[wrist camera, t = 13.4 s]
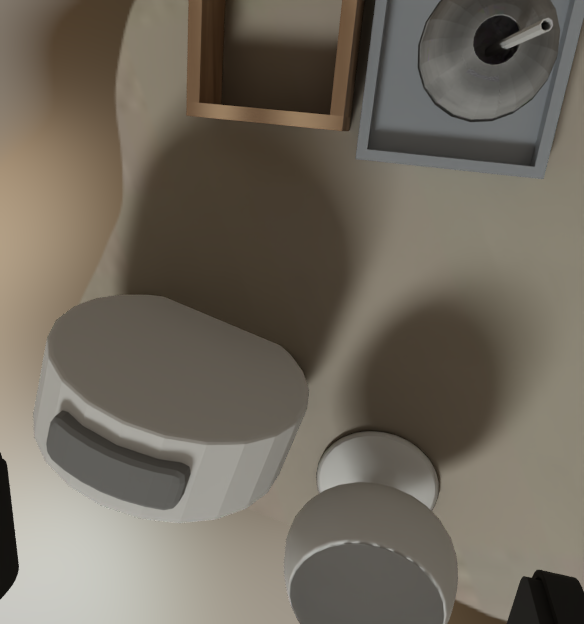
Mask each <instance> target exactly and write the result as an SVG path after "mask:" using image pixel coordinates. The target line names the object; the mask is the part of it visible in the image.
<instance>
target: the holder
mask: <svg viewBox="0 0 584 624" xmlns="http://www.w3.org/2000/svg"><path fill="white" fill-rule="evenodd" d="M364 4H365V0H342V8H341V17H340V27H339V36H338V45H337V54H336V64H335V73H334V82H333V91H332V101H331V110H330V115H324V114H314V113H303V112H293V111H282V110H271V109H261V108H250V107H239V106H229V105H221V95H222V71H223V46H224V21H225V0H189V10H188V61H187V112H186V116H196V117H206V118H216V119H226V120H236V121H246V122H257V123H267V124H277V125H287V126H297V127H307V128H317V129H327V130H338V131H349V128H350V120H351V111H352V103H353V95H354V87H355V78H356V70H357V62H358V54H359V45H360V37H361V29H362V21H363V12H364Z"/></svg>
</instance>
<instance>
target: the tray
mask: <svg viewBox="0 0 584 624" xmlns="http://www.w3.org/2000/svg"><path fill="white" fill-rule="evenodd" d="M439 1H441V0H376V2H375V9H374V17H373V25H372V33H371V41H370V49H369V57H368V65H367V72H366V80H365V88H364V96H363V104H362V112H361V120H360V127H359V135H358V143H357V151H356V159H361V160H370V161H379V162H389V163H398V164H407V165H417V166H426V167H435V168H445V169H454V170H463V171H473V172H482V173H491V174H501V175H510V176H519V177H529V178H538V179H544V175H545V171H546V167H547V163H548V159H549V155H550V151H551V147H552V143H553V139H554V135H555V131H556V127H557V123H558V119H559V115H560V110H561V106H562V102H563V98H564V94H565V90H566V86H567V82H568V78H569V74H570V70H571V66H572V62H573V58H574V54H575V50H576V46H577V42H578V38H579V34H580V30H581V26H582V22H583V18H584V0H551V2H552V4H553V5H554V7H555V8H556V12H557V17H558V22H559V27H560V38H559V47H558V55H557V59H556V61H555V63H554V66H553V68H552V71H551V73H550V75H549V78H548V80H547V82H546V83H545V84H544V85H543V87H542V88H541V89H540V90H539V92H538V93H537V94H536V95H535V97H534V98H533V99H532V100H531V101H530V102H528V103H527V104H526V105H524V106H523V107H521V108H520V109H519V110H517V111H516V112H515V113H513V114H511V115H508V116H505V117H502V118H500V119H497V120H494V121H487V122H468V121H465V120H461V119H458V118H454V117H451V116H450V115H448V114H447V113H445V112H444V111H443V110H441V109H440V108H438V107H437V106H436V105H435V104H434V103H433V102H432V100H431V99H430V97H429V96H428V94H427V93H426V91H425V90H424V88H423V85H422V82H421V78H420V75H419V71H418V44H419V41H420V38H421V35H422V32H423V29H424V25H425V22H426V21H427V19H428V18H429V16H430V15H431V13H432V12H433V10H434V9H435V7H436V6H437V4H438V3H439Z"/></svg>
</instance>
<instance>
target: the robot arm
mask: <svg viewBox="0 0 584 624" xmlns="http://www.w3.org/2000/svg"><path fill="white" fill-rule="evenodd" d="M16 547H17V546H16V538H15V529H14V521H13V512H12V504H11V495H10V487H9V478H8V470H7V464H6V461H5V460H4V459H2V456H1V453H0V599H1V598H2V597H3V596H4V595H5V594H6V592H7V591H8V590H9V589H10V587H11V586H12V585H13V583H14V581H15V579H16V577H17V574H18V570H19V564H18V555H17V548H16ZM507 624H584V592H583V589H582V587H581V585H580V583H579V581H578V580H577V579H576V578H574V577H569V576H565V575H560V574H556V573H551V572H547V571H542V570H536V572H535V573H534V575H533V577H532V578H530V577H525V576H523V577H522V579H521V581H520V584H519V587H518V590H517V593H516V596H515V599H514V603H513V606H512V609H511V612H510V615H509V618H508V621H507Z"/></svg>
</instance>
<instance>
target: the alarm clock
mask: <svg viewBox="0 0 584 624" xmlns="http://www.w3.org/2000/svg"><path fill="white" fill-rule="evenodd" d="M308 396H309V388H308V385H307V382H306V379H305V376H304V373H303V371H302V370H301V368H300V367H299V365H298V364H297V363H296V361H295V360H294V358H293V357H292V356H291V354H289V353H288V352H287V351H286V350H285V349H284V348H283V347H282V346H280V345H278V344H276V343H273V342H271V341H269V340H266V339H264V338H261V337H259V336H257V335H254V334H252V333H249V332H247V331H245V330H242V329H240V328H238V327H235V326H233V325H230V324H228V323H226V322H223V321H221V320H219V319H216V318H214V317H211V316H209V315H207V314H204V313H202V312H199V311H197V310H195V309H192V308H190V307H188V306H185V305H183V304H180V303H178V302H176V301H173V300H171V299H169V298H166V297H163V296H155V295H115V296H109V297H102V298H96V299H93V300H90V301H87V302H85V303H82V304H79V305H77V306H74V307H73V308H71V309H70V310H69V311H67V312H66V313H65V314H63V315H62V316H61V317H60V318H58V319H57V320H56V322H55V323H54V326H53V327H52V329H51V331H50V333H49V335H48V337H47V342H46V347H45V353H44V358H43V363H42V369H41V375H40V380H39V385H38V391H37V396H36V402H35V407H34V413H33V418H34V438H35V440H36V442H37V444H38V447H39V449H40V451H41V453H42V455H43V457H44V459H45V461H46V463H47V464H48V465H49V466H50V467H51V468H52V469H53V470H54V471H55V472H56V473H57V474H58V475H59V476H60V477H61V478H62V479H63V481H65V483H66V484H67V485H68V486H70V487H71V488H73V489H74V490H76V491H78V492H79V493H81V494H83V495H84V496H86V497H88V498H89V499H91V500H93V501H95V502H96V503H98V504H100V505H101V506H104V507H107V508H110V509H113V510H116V511H119V512H122V513H125V514H128V515H131V516H134V517H137V518H140V519H149V520H158V521H166V522H175V523H185V522H194V521H205V520H215V519H218V518H221V517H224V516H227V515H229V514H232V513H235V512H238V511H241V510H243V509H246V508H247V507H249V506H250V505H251V504H253V503H254V502H255V501H257V500H258V499H259V498H261V497H262V496H263V495H265V494H266V493H267V492H268V491H269V489H270V488H271V486H272V484H273V483H274V481H275V480H276V478H277V476H278V475H279V473H280V471H281V468H282V466H283V464H284V461H285V459H286V457H287V454H288V452H289V450H290V447H291V445H292V443H293V440H294V438H295V436H296V433H297V431H298V429H299V426H300V424H301V421H302V419H303V417H304V414H305V412H306V410H307V405H308Z"/></svg>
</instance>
